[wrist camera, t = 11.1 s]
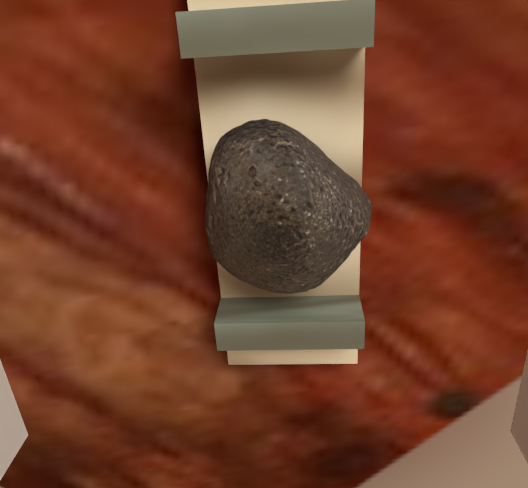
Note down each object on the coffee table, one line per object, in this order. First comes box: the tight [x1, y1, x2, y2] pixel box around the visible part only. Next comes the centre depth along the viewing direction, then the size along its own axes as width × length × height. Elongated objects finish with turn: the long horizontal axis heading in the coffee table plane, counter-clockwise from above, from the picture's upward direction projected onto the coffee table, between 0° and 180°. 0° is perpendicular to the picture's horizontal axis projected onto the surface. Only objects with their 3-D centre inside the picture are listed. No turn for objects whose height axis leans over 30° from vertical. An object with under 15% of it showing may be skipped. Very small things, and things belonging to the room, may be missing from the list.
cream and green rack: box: [175, 0, 375, 365], centre depth 28 cm, size 26×9×6 cm, turn 4°
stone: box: [205, 119, 371, 294], centre depth 27 cm, size 10×8×10 cm
